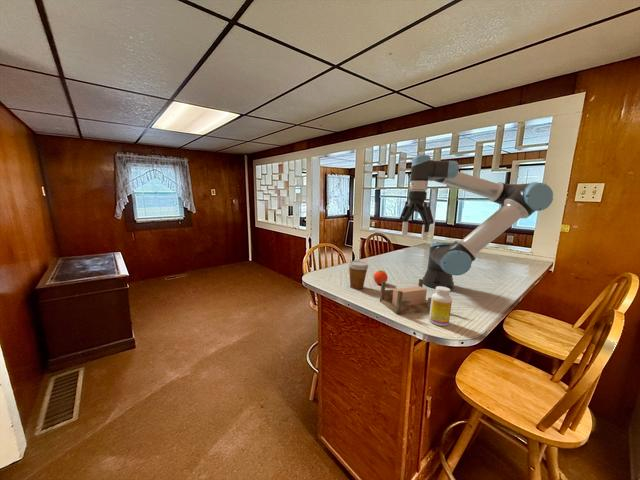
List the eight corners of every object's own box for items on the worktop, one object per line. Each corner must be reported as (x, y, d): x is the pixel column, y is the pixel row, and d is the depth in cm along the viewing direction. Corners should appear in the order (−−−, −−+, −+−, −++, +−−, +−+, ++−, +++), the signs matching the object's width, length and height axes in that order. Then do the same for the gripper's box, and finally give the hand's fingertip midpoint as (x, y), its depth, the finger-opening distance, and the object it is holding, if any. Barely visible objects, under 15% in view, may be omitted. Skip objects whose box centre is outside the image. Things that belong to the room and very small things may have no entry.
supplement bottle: (451, 328, 90) (456, 292, 88) (431, 325, 92) (435, 290, 89) (445, 319, 97) (450, 286, 95) (426, 317, 98) (430, 284, 96)
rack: (419, 298, 117) (421, 278, 116) (440, 310, 105) (443, 289, 103) (379, 301, 111) (381, 281, 109) (397, 314, 99) (399, 292, 97)
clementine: (377, 280, 140) (379, 267, 139) (390, 283, 136) (391, 270, 135) (370, 283, 134) (371, 270, 133) (383, 287, 130) (384, 273, 129)
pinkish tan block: (418, 299, 112) (419, 286, 111) (425, 303, 109) (426, 289, 108) (392, 303, 106) (393, 289, 105) (398, 307, 103) (400, 292, 102)
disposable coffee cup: (367, 285, 131) (369, 262, 129) (365, 291, 122) (367, 266, 120) (348, 282, 133) (350, 259, 131) (345, 288, 124) (347, 264, 122)
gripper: (394, 190, 129) (391, 233, 132) (431, 190, 106) (426, 241, 109) (407, 191, 131) (403, 233, 135) (446, 190, 108) (440, 241, 112)
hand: (413, 237), depth 122 cm, fingers open, 13 cm apart
